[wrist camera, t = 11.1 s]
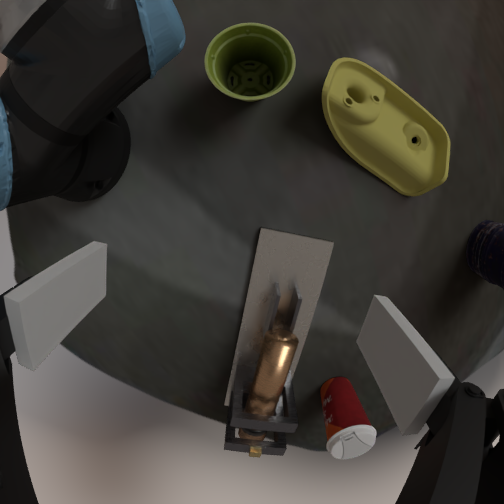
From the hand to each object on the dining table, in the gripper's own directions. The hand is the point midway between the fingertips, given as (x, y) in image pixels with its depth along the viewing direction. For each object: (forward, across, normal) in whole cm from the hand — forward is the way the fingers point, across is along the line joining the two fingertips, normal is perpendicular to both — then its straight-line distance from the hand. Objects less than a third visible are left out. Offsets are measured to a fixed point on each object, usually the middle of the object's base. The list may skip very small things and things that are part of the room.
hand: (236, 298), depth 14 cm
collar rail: (+27, +7, -18) cm, 33 cm away
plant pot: (+27, -3, +17) cm, 32 cm away
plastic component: (+27, +15, +15) cm, 35 cm away
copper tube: (+22, +7, -24) cm, 33 cm away
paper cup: (+27, +21, -27) cm, 44 cm away
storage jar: (+27, +41, +3) cm, 49 cm away
